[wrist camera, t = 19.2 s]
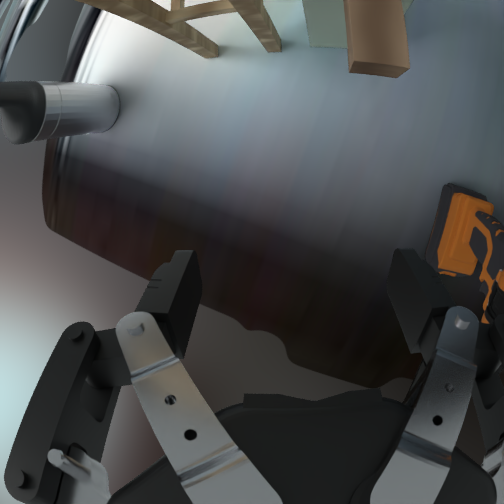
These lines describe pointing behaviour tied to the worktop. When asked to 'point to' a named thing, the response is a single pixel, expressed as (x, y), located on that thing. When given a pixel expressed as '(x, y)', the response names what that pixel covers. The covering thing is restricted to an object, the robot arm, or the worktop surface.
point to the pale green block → (329, 22)
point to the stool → (172, 22)
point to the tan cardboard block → (376, 37)
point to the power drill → (469, 244)
